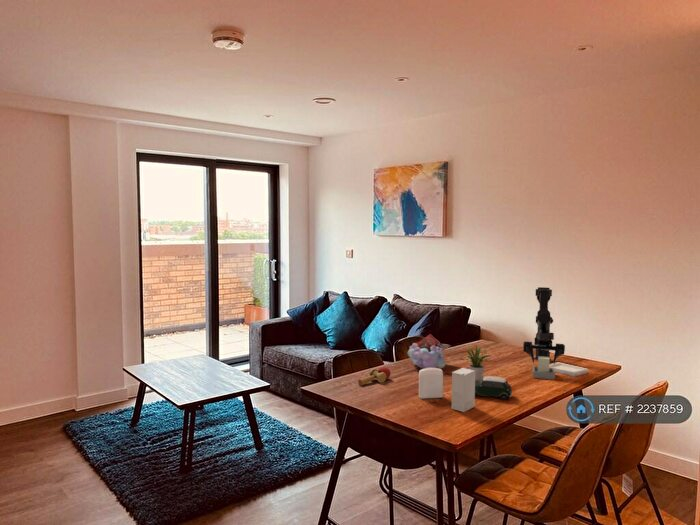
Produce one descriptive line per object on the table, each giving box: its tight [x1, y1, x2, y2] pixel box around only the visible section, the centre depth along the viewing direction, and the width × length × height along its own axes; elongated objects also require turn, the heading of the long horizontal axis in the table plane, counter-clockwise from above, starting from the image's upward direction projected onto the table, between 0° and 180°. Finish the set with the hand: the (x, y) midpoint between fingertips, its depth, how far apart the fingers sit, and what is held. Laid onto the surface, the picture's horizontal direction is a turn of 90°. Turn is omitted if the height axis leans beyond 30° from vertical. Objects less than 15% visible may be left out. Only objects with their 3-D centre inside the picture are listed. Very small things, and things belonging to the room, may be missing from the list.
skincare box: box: [450, 367, 476, 413], centre depth 197 cm, size 8×6×15 cm
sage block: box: [537, 356, 551, 372], centre depth 243 cm, size 5×5×9 cm
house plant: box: [465, 344, 492, 381], centre depth 236 cm, size 14×14×16 cm
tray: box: [549, 361, 589, 378], centre depth 252 cm, size 16×12×2 cm
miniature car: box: [475, 375, 513, 402], centre depth 213 cm, size 9×18×8 cm, turn 70°
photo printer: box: [418, 368, 444, 399], centre depth 210 cm, size 10×4×12 cm, turn 96°
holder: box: [532, 366, 556, 381], centre depth 243 cm, size 10×10×3 cm
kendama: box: [357, 366, 391, 387], centre depth 233 cm, size 8×6×18 cm
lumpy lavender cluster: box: [407, 333, 452, 370], centre depth 259 cm, size 20×22×18 cm
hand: (543, 362), depth 241 cm, fingers open, 9 cm apart
